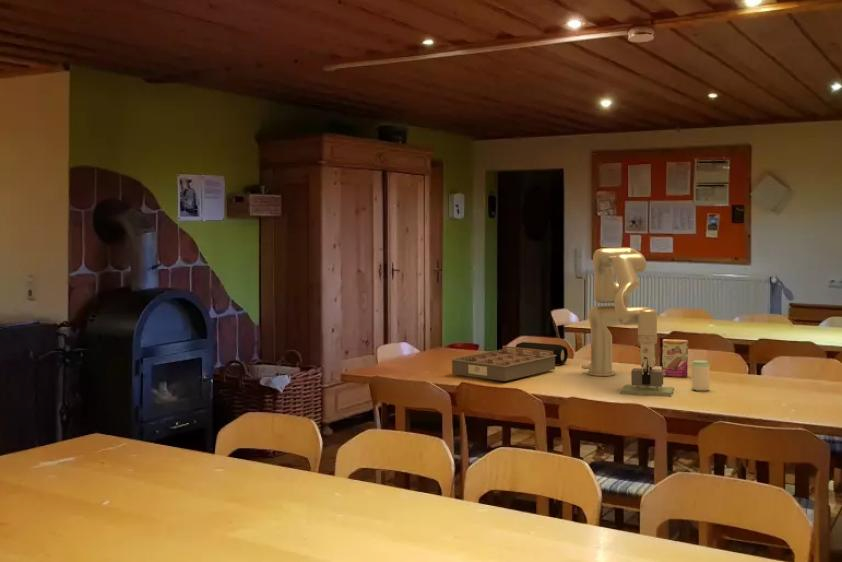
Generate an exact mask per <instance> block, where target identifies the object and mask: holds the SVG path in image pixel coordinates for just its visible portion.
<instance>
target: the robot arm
mask: <svg viewBox="0 0 842 562" xmlns="http://www.w3.org/2000/svg"><path fill="white" fill-rule="evenodd" d="M592 264H593V268H594V283H593V285H594V286H593V298H594V301H595V302H596V303H599V304H601V305H596V306H593V307H591V308H590V309H589V310H588V311H589V312H588V320H589V321H588V322H589V326H590V346H591V347H590V363H589V364H581V369H583V370H587V374H588V375H589V376H593V377H611V376H615V375H616V371H615V370H613V335H612V332H611V331H610V329H609V328H608V327H616V326H637V343H638V344H640V351H639V352H640V367H641V369H643V370H642V384H645V385H650V375H649V374H650V369H654V368H655V366H656V348H655V347H656V344H657V343H658V313H657V312H658V311H657V310H656V309H653V308H650V307H648V306H629V301H630V294H631V293H634V292H635V291H637V289H639V287H640V281H639V278H638V275H637V274H640V273H643V272H645V271H646V270H647V260H646V258H645V256H644V254H642V253H641V252H640V251H637V250H636V249H634V248H632V247H624V246H623V247H601V248H599V249H596V250H595V251H594V253H593V256H592ZM615 278H616V281H615V280H614V279H615ZM603 304H604V305H603ZM609 304H610V305H609Z"/></svg>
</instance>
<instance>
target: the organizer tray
mask: <svg viewBox="0 0 842 562" xmlns="http://www.w3.org/2000/svg"><path fill="white" fill-rule="evenodd" d="M555 356H557V355H553V351H546V350H537V349H528V348H519V347H516V346H507V345H502V349H498V350H492V351H487V352H482V353H477V354H472V355H471V354H470V355H465V356H460V357H456V358H450V361H451V372H452V373H451V374H453V375H459V376H460V375H461V376H467V377H473V378H481V379H486V380H487V379H489V380H493V381H502V382H507V381H511V380H515V379H520V378H525V377H527V376H531V375H537V374H541V373H544V372H549V371H553V370H556V365H555Z"/></svg>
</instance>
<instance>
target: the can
mask: <svg viewBox="0 0 842 562" xmlns="http://www.w3.org/2000/svg"><path fill="white" fill-rule="evenodd" d="M710 368H711V366H710V364H709V361H708V360H705V359H704V360H701V359H700V360H698V359H697V360H696V359H695V360H693V361H692V364H691V389H692V390H693V391H695V390H696V391H695V392H708V391H709V390H710V378H711V377H710V376H711V375H710V374H711V372H710Z"/></svg>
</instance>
